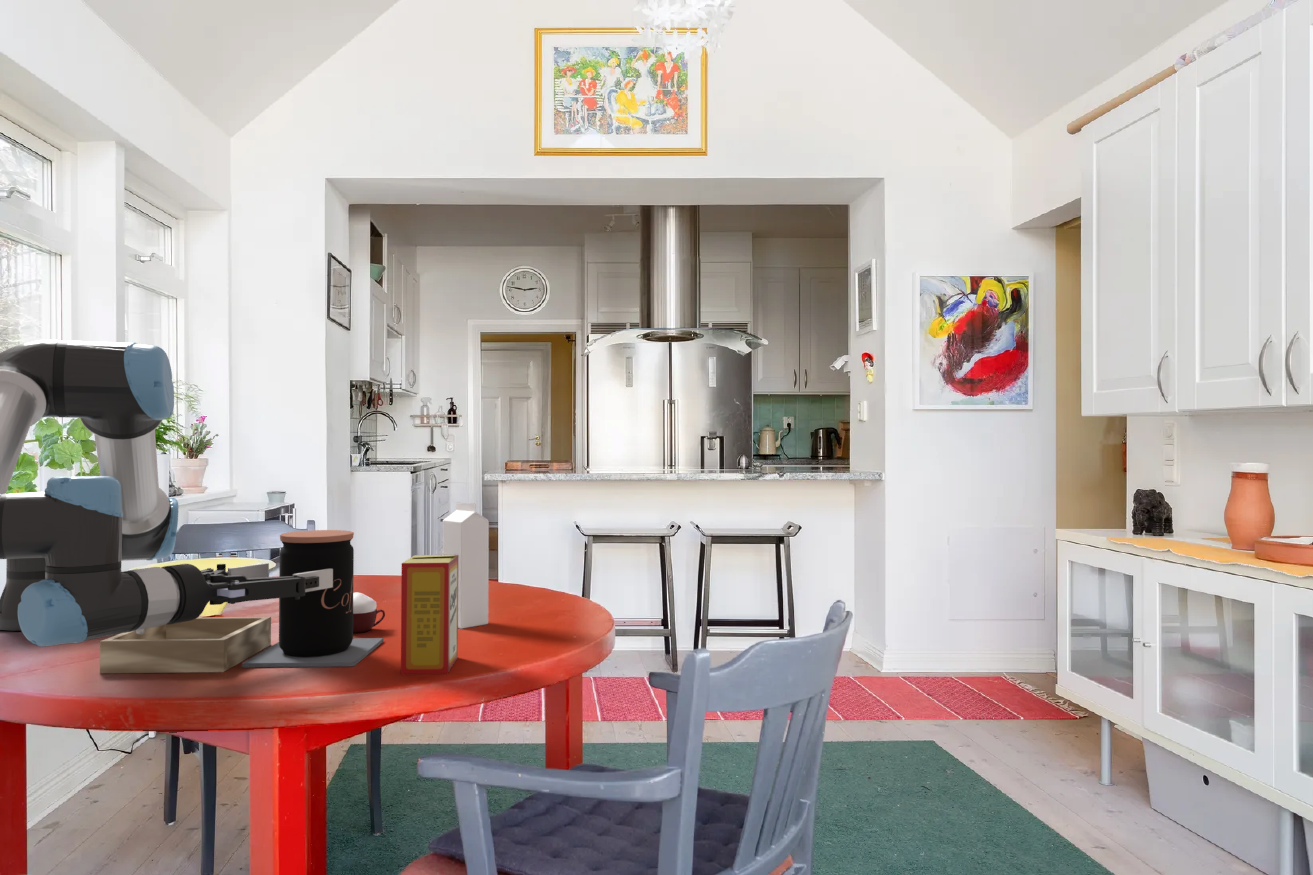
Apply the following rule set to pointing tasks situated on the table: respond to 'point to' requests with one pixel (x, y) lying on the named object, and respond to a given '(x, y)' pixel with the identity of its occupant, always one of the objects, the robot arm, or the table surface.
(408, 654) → the baking soda box
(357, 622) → the cocoa
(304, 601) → the coffee jar
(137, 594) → the robot arm
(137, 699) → the table surface
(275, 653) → the slate mat
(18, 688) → the table surface
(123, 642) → the wooden tray
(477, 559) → the milk
